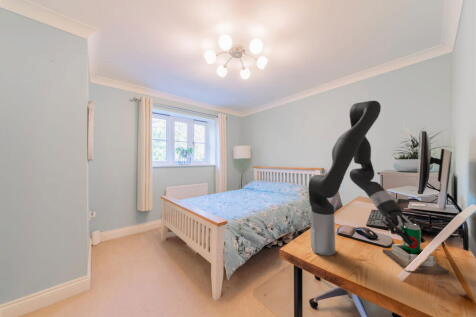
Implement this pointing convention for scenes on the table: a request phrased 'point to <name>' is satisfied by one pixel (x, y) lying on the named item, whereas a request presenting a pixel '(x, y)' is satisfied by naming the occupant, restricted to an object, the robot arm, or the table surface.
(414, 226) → the soda can
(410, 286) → the table surface
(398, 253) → the holder
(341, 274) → the table surface
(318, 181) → the robot arm
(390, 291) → the table surface
